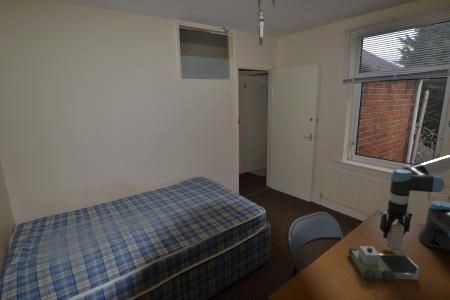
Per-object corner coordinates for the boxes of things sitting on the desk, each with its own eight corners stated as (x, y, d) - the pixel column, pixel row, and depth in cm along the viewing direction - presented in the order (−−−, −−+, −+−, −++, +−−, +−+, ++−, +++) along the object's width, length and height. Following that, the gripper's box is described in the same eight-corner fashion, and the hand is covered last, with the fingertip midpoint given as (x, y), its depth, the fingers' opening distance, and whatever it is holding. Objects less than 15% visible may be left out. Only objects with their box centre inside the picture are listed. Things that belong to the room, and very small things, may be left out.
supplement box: (401, 251, 112) (405, 227, 109) (390, 250, 113) (393, 226, 110) (393, 241, 120) (396, 218, 117) (382, 240, 121) (385, 217, 118)
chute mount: (397, 258, 112) (399, 248, 111) (417, 279, 99) (419, 268, 98) (373, 258, 113) (375, 247, 111) (390, 278, 100) (392, 267, 99)
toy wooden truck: (373, 255, 114) (376, 238, 112) (394, 281, 99) (398, 261, 96) (347, 255, 115) (350, 237, 113) (364, 280, 100) (367, 260, 97)
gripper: (412, 197, 114) (406, 238, 119) (374, 198, 115) (369, 238, 120) (424, 204, 106) (416, 248, 112) (383, 205, 108) (377, 248, 113)
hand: (392, 243), depth 116 cm, fingers closed on supplement box, 5 cm apart
